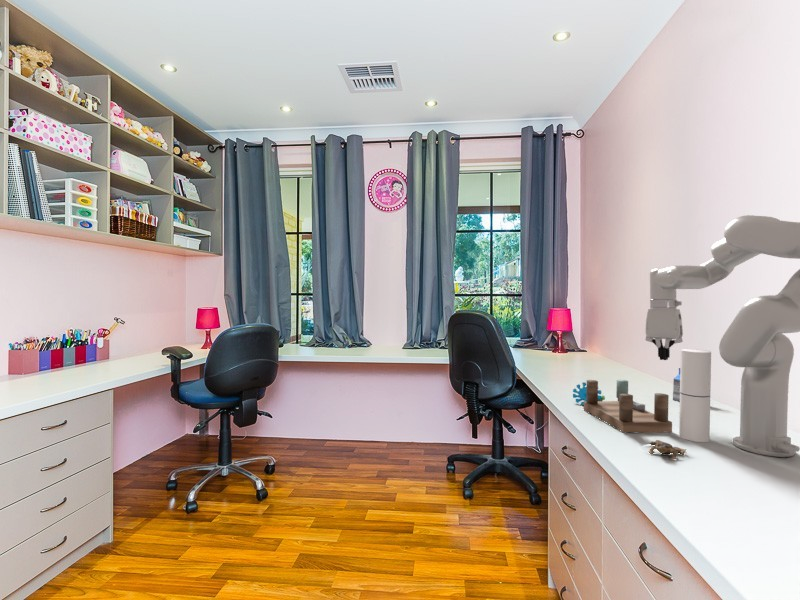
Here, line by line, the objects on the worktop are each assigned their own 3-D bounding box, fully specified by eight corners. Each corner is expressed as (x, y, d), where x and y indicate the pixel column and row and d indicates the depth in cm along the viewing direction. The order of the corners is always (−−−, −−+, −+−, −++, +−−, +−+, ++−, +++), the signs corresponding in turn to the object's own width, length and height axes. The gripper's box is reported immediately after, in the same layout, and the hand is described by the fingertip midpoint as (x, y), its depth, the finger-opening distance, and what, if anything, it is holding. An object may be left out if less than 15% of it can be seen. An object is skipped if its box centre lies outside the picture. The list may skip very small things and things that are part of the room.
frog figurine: (690, 468, 101) (690, 452, 101) (634, 455, 109) (634, 440, 109) (696, 454, 110) (696, 439, 110) (644, 443, 118) (644, 429, 118)
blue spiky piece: (568, 399, 158) (577, 378, 162) (570, 407, 161) (579, 386, 166) (599, 408, 150) (608, 386, 155) (601, 417, 154) (609, 395, 159)
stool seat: (671, 432, 126) (672, 396, 126) (623, 432, 125) (623, 396, 125) (624, 409, 150) (625, 379, 150) (583, 410, 149) (583, 379, 149)
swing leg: (648, 411, 137) (648, 388, 136) (637, 411, 136) (638, 388, 136) (623, 400, 150) (624, 379, 150) (614, 400, 149) (614, 379, 149)
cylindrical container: (680, 439, 120) (682, 351, 119) (677, 432, 126) (679, 348, 125) (711, 443, 116) (713, 353, 116) (707, 435, 123) (708, 349, 122)
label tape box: (672, 400, 164) (672, 368, 163) (678, 398, 165) (678, 367, 165) (697, 405, 156) (697, 372, 156) (703, 404, 158) (703, 371, 157)
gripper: (692, 304, 139) (693, 360, 139) (642, 305, 150) (642, 356, 150) (686, 304, 134) (687, 362, 134) (635, 305, 145) (635, 358, 145)
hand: (663, 359), depth 142 cm, fingers closed
